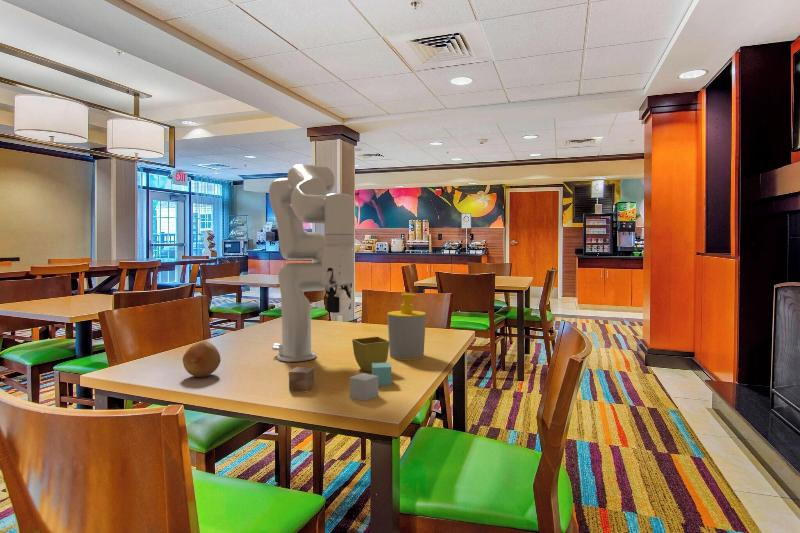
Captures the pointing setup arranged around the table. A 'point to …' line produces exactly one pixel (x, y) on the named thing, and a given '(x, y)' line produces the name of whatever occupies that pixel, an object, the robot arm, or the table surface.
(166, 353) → the table surface
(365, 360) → the flower pot
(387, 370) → the teal cube
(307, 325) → the robot arm
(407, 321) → the soap bottle
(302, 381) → the walnut cube
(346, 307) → the muffin
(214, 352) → the onion
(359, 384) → the grey cube
